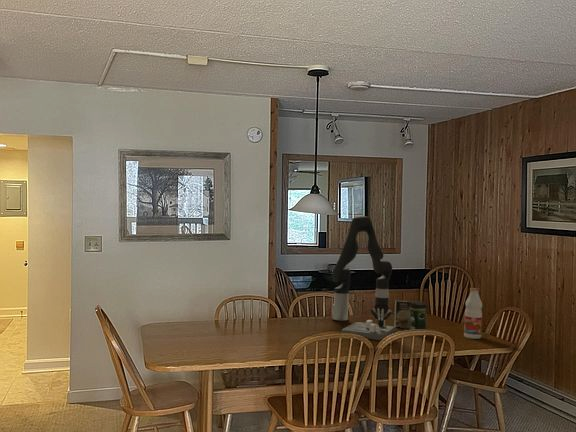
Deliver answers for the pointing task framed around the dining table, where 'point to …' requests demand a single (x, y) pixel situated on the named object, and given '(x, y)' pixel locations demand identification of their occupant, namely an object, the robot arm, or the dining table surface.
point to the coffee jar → (417, 315)
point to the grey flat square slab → (362, 330)
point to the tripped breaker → (368, 323)
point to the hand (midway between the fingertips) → (380, 326)
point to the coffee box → (402, 313)
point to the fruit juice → (473, 315)
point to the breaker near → (372, 327)
